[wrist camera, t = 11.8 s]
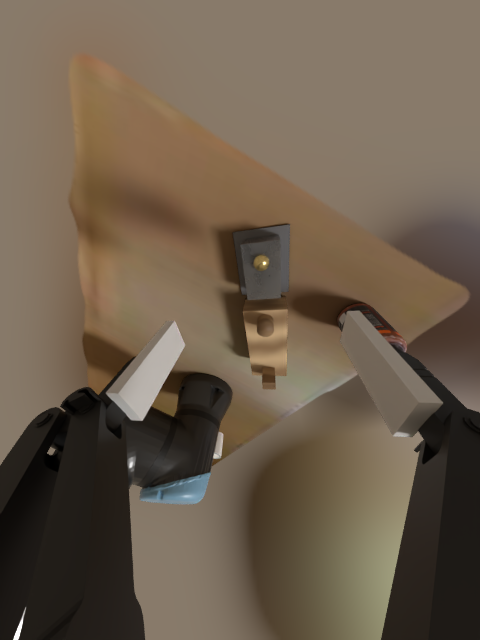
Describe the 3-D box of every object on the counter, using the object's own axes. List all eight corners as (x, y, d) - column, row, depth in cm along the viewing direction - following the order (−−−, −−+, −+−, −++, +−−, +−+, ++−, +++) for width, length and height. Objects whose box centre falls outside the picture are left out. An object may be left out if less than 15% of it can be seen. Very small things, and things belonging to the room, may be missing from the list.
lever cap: (249, 289, 29) (247, 301, 26) (243, 239, 25) (239, 245, 21) (279, 287, 28) (281, 299, 25) (278, 234, 24) (280, 240, 20)
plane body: (284, 359, 38) (288, 391, 32) (253, 359, 40) (251, 390, 33) (285, 296, 30) (290, 322, 23) (245, 298, 31) (239, 324, 24)
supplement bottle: (328, 317, 31) (355, 366, 22) (360, 295, 28) (407, 341, 19) (348, 334, 32) (381, 387, 23) (381, 315, 29) (433, 367, 20)
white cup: (205, 433, 68) (200, 455, 63) (211, 428, 65) (206, 450, 59) (220, 439, 70) (216, 460, 64) (227, 434, 66) (223, 456, 60)
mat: (242, 293, 30) (241, 294, 30) (233, 232, 25) (232, 232, 24) (288, 290, 29) (288, 291, 29) (289, 224, 23) (289, 224, 23)
